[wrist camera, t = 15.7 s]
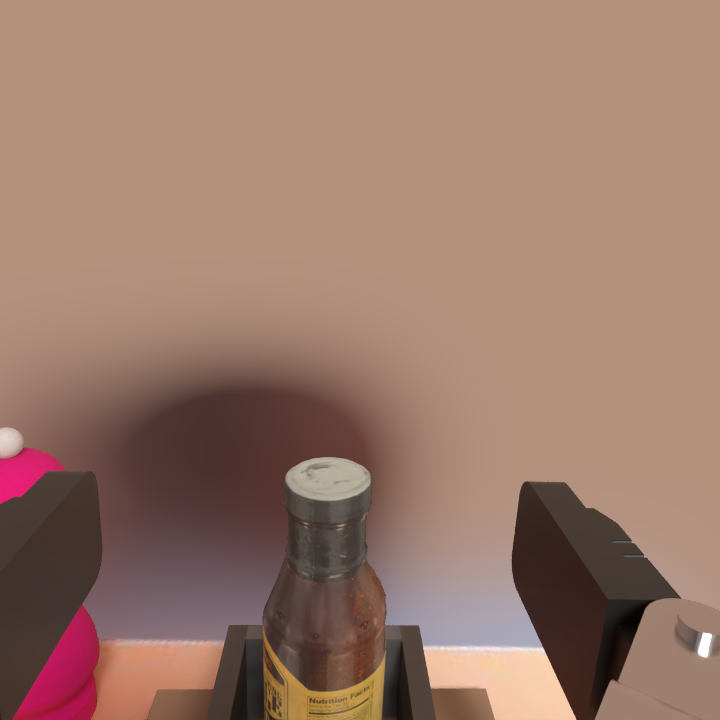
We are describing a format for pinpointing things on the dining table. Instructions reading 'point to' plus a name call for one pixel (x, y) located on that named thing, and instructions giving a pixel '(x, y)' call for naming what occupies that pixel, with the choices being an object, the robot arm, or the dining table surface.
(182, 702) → the bottle caddy
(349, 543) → the sauce bottle
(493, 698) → the dining table surface
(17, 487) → the pepper mill
